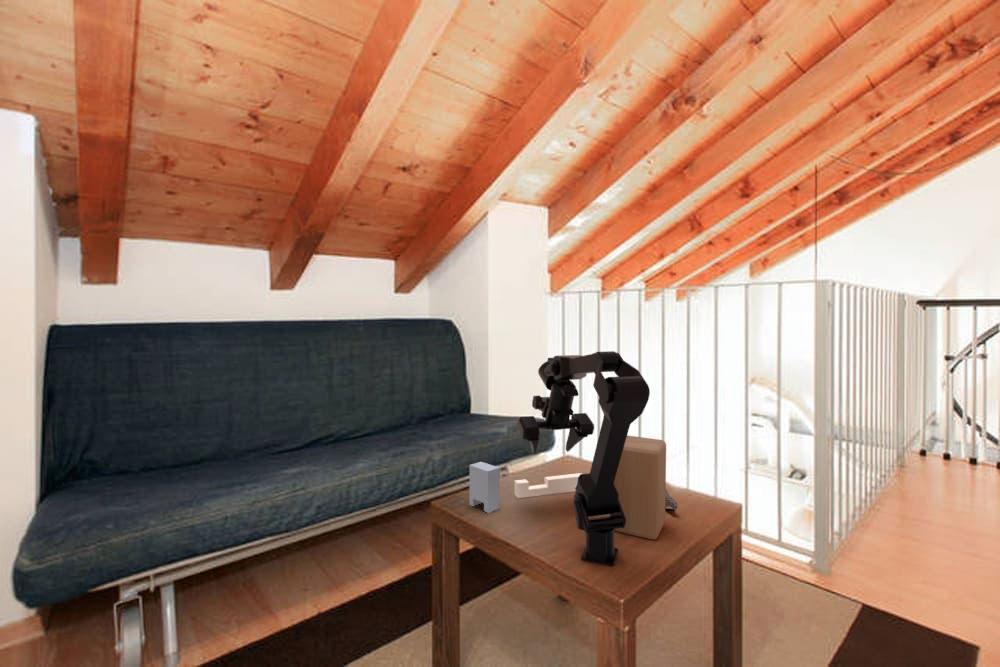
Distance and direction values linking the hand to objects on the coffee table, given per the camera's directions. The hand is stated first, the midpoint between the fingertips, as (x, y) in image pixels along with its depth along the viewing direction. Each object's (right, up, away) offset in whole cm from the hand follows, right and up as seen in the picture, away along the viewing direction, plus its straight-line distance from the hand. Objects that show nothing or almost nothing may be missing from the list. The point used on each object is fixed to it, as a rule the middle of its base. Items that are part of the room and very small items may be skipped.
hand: (550, 451), depth 119 cm
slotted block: (-17, -14, -2) cm, 22 cm away
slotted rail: (+1, -13, +8) cm, 16 cm away
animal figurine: (+29, -14, -2) cm, 32 cm away
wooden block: (+19, -14, -13) cm, 27 cm away
